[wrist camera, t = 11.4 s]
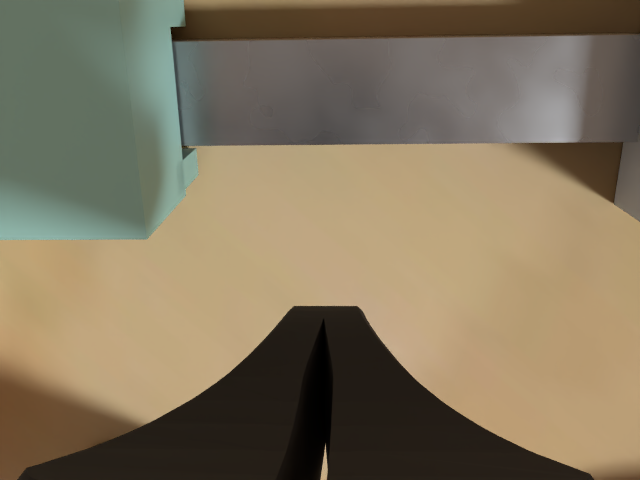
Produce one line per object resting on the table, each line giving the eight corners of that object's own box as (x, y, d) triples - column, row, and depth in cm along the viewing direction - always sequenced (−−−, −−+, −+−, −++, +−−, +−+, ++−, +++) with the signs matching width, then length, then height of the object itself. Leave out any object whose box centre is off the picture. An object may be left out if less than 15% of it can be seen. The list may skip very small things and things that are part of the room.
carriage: (198, 180, 20) (146, 239, 15) (52, 181, 21) (-51, 240, 15) (182, -13, 18) (115, -26, 13) (20, -9, 19) (-113, -21, 13)
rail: (609, 130, 20) (637, 141, 18) (-51, 136, 21) (-90, 148, 19) (623, 32, 19) (655, 34, 17) (-72, 43, 20) (-115, 45, 18)
